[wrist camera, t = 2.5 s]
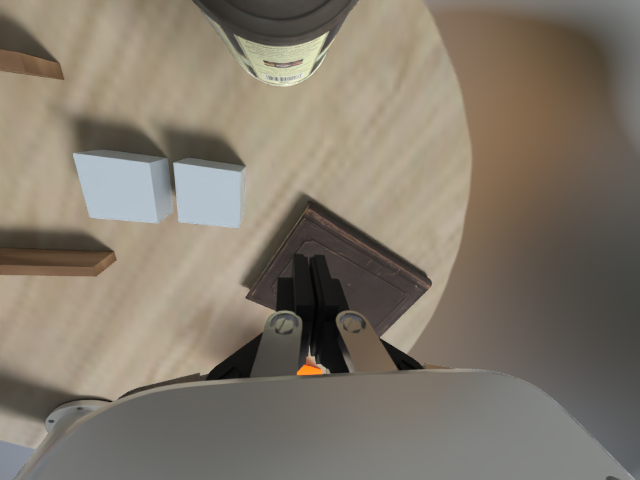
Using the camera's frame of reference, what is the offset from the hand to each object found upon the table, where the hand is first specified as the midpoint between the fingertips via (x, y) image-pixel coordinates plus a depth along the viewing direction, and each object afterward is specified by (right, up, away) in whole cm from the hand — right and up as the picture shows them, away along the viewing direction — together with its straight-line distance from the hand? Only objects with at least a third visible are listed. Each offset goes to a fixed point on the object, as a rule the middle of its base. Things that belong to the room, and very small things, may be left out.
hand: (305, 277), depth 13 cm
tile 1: (-11, +8, +15) cm, 20 cm away
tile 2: (-19, +8, +13) cm, 24 cm away
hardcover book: (+4, -4, +24) cm, 24 cm away
